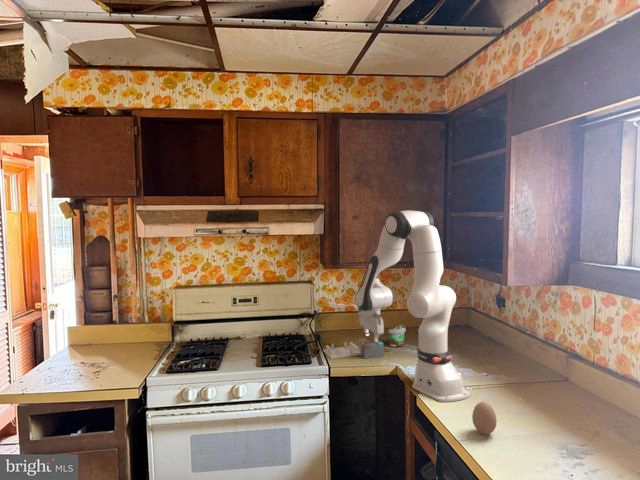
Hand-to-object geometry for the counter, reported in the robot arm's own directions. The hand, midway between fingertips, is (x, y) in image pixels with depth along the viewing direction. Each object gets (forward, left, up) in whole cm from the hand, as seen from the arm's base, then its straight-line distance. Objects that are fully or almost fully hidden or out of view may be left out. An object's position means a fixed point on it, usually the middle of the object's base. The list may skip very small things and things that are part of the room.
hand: (371, 338), depth 189 cm
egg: (-76, -2, -9) cm, 76 cm away
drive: (0, 0, -9) cm, 9 cm away
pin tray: (+10, +12, -9) cm, 17 cm away
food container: (+9, -20, -9) cm, 24 cm away
